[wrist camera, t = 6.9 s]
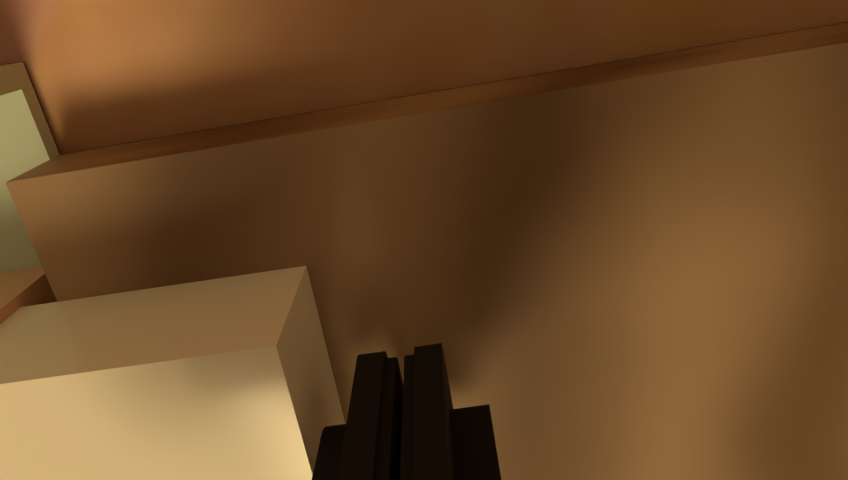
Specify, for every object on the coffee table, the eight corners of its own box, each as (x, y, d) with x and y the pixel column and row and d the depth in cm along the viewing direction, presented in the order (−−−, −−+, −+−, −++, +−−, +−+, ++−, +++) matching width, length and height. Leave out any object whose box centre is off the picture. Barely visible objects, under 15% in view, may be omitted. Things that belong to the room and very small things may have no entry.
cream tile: (306, 265, 13) (275, 345, 10) (362, 492, 15) (350, 608, 12) (20, 307, 13) (-85, 395, 10) (117, 523, 16) (52, 643, 13)
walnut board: (1008, -5, 13) (1106, -2, 11) (932, 430, 17) (994, 486, 15) (59, 154, 14) (5, 182, 12) (206, 526, 18) (182, 589, 16)
